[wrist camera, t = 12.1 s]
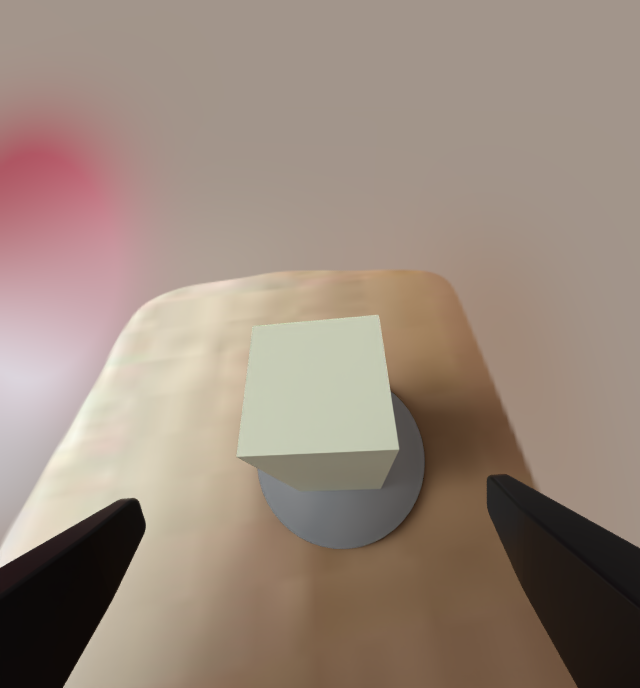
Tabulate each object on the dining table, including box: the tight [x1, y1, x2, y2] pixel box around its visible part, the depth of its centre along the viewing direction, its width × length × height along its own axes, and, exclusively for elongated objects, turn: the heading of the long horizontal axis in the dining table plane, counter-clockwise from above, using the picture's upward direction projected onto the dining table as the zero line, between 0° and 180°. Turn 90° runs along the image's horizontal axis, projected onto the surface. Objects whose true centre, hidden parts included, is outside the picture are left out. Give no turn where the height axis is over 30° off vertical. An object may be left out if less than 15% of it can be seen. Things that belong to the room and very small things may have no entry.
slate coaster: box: [257, 391, 425, 549], centre depth 20 cm, size 11×11×1 cm
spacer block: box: [237, 315, 399, 492], centre depth 15 cm, size 5×5×11 cm
